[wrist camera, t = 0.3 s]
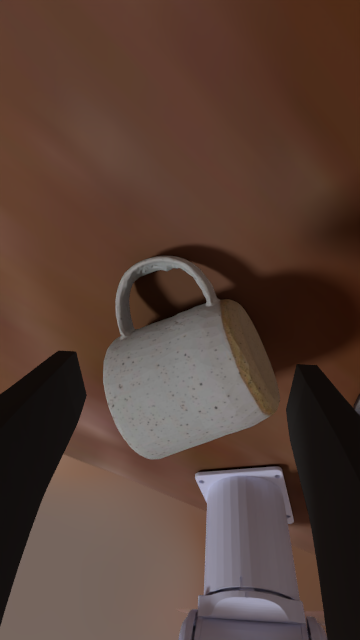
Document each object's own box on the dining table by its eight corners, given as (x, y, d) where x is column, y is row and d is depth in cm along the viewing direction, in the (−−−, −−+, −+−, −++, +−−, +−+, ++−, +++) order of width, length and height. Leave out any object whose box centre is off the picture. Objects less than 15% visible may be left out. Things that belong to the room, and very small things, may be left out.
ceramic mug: (277, 356, 22) (298, 454, 16) (176, 391, 25) (160, 486, 19) (204, 220, 18) (193, 280, 12) (92, 282, 21) (34, 357, 15)
